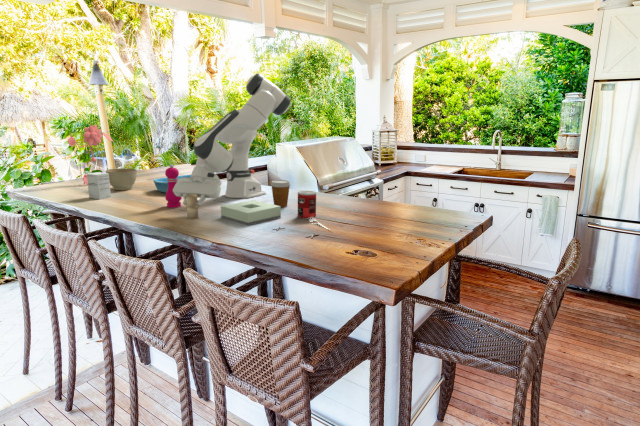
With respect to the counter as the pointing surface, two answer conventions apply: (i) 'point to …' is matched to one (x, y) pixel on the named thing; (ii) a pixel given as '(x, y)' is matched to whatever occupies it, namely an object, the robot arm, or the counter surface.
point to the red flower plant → (90, 142)
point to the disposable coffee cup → (280, 192)
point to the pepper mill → (172, 180)
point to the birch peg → (192, 206)
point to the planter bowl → (122, 178)
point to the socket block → (250, 212)
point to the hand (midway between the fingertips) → (191, 204)
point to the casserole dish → (165, 183)
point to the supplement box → (98, 185)
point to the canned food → (306, 204)
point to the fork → (317, 223)
